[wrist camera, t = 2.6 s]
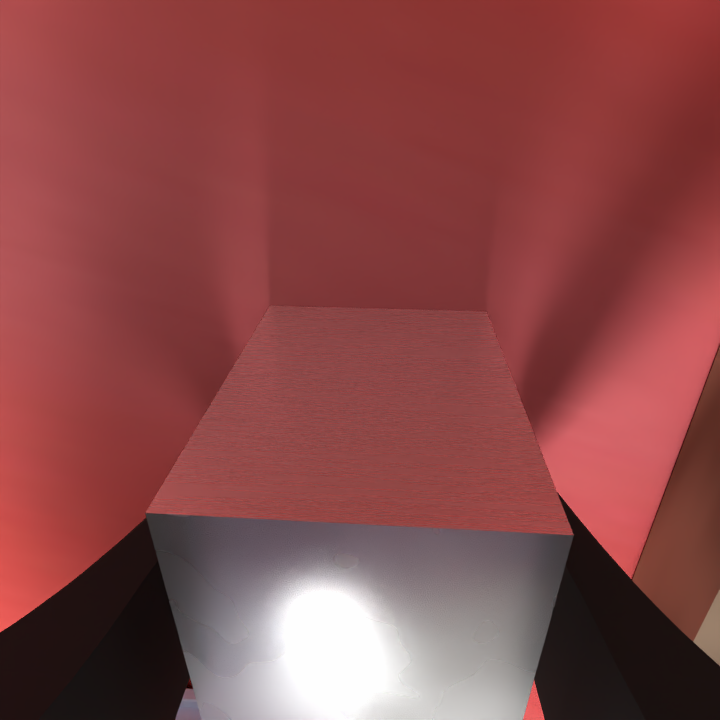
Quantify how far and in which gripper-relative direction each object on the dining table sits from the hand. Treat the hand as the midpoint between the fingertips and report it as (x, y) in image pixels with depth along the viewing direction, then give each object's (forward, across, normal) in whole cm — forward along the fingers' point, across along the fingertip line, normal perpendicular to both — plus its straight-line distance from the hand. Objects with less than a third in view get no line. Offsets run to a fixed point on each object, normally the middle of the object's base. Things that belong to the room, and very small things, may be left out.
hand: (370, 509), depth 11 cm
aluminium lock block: (+2, 0, 0) cm, 2 cm away
